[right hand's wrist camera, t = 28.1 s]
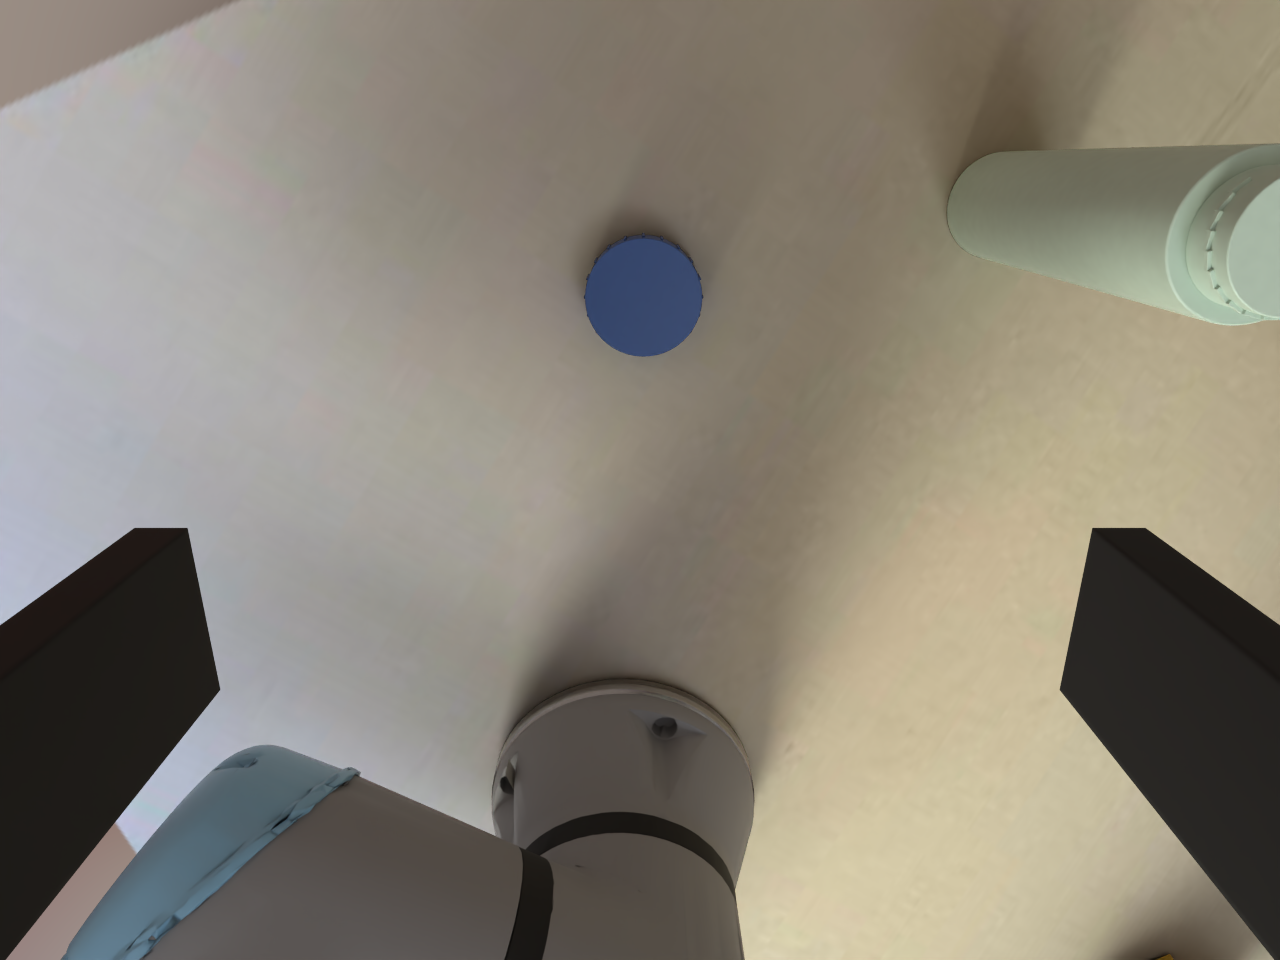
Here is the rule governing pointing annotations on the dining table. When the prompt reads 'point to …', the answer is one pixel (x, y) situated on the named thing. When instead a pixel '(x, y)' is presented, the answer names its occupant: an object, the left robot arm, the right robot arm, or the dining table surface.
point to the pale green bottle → (1134, 223)
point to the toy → (1166, 957)
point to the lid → (643, 295)
